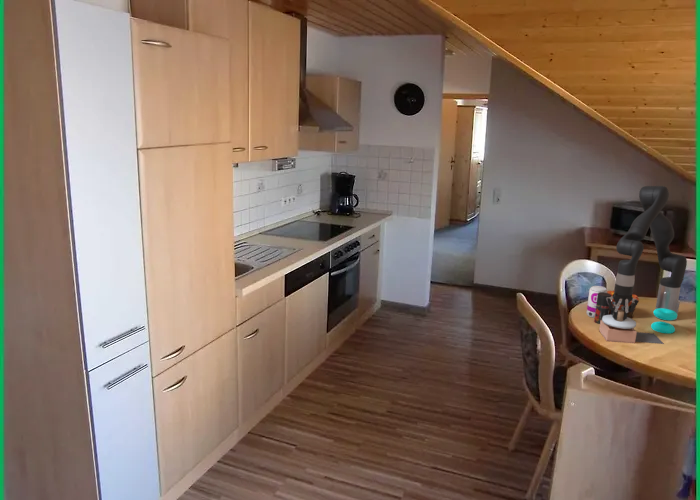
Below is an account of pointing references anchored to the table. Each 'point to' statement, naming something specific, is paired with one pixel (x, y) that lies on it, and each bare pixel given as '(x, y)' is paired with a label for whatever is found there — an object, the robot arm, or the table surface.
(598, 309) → the deodorant
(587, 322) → the table surface
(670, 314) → the donuts
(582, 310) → the table surface
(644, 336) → the mat
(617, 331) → the dish
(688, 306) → the table surface
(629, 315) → the food container
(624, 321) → the lid
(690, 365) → the table surface
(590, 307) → the supplement can
